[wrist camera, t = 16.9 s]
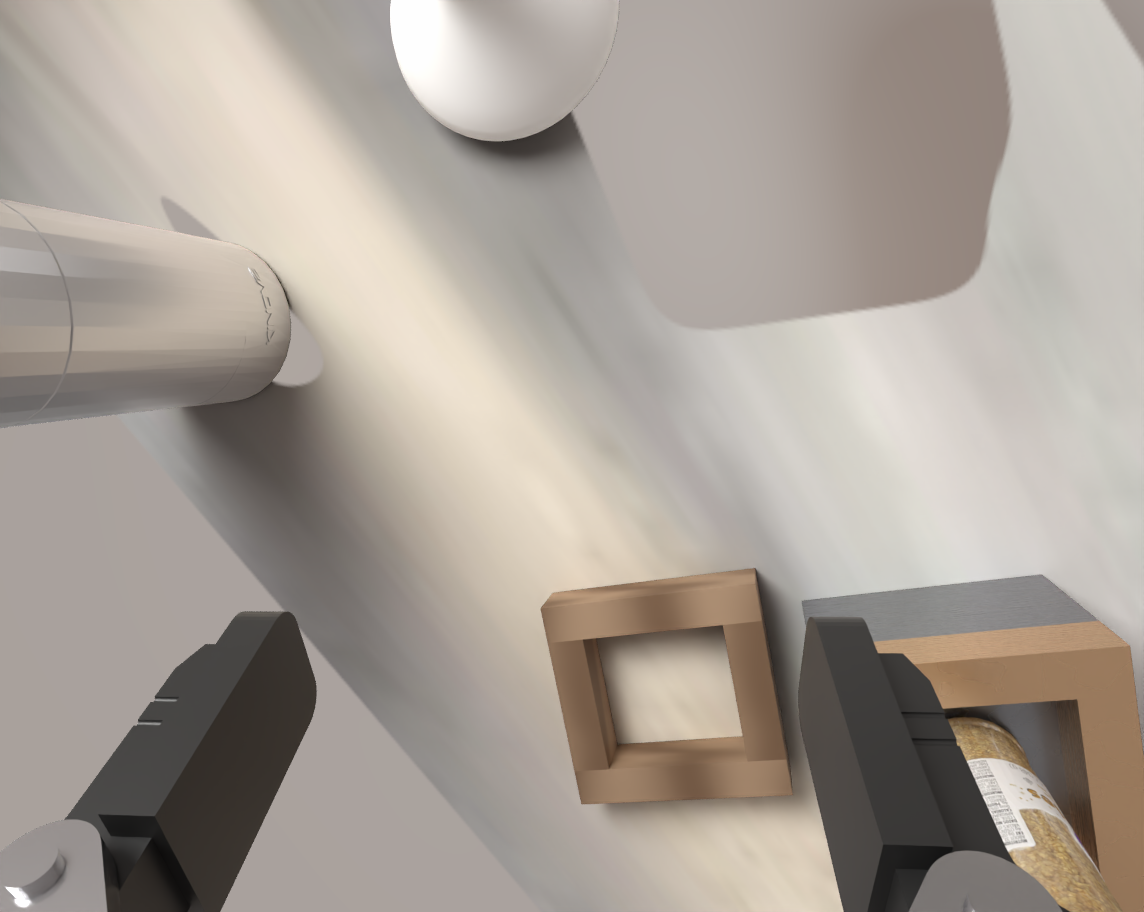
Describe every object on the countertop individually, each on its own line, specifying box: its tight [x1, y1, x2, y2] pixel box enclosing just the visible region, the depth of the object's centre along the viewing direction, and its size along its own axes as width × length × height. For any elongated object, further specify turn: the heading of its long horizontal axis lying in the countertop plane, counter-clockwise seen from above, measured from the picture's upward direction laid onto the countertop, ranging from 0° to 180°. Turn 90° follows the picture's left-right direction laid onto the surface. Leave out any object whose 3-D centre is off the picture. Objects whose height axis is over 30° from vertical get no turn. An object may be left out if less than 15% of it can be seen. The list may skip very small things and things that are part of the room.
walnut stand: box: [541, 568, 793, 804], centre depth 39 cm, size 11×11×2 cm
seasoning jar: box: [948, 717, 1123, 912], centre depth 25 cm, size 5×5×13 cm
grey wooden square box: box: [802, 575, 1144, 912], centre depth 33 cm, size 11×11×8 cm
